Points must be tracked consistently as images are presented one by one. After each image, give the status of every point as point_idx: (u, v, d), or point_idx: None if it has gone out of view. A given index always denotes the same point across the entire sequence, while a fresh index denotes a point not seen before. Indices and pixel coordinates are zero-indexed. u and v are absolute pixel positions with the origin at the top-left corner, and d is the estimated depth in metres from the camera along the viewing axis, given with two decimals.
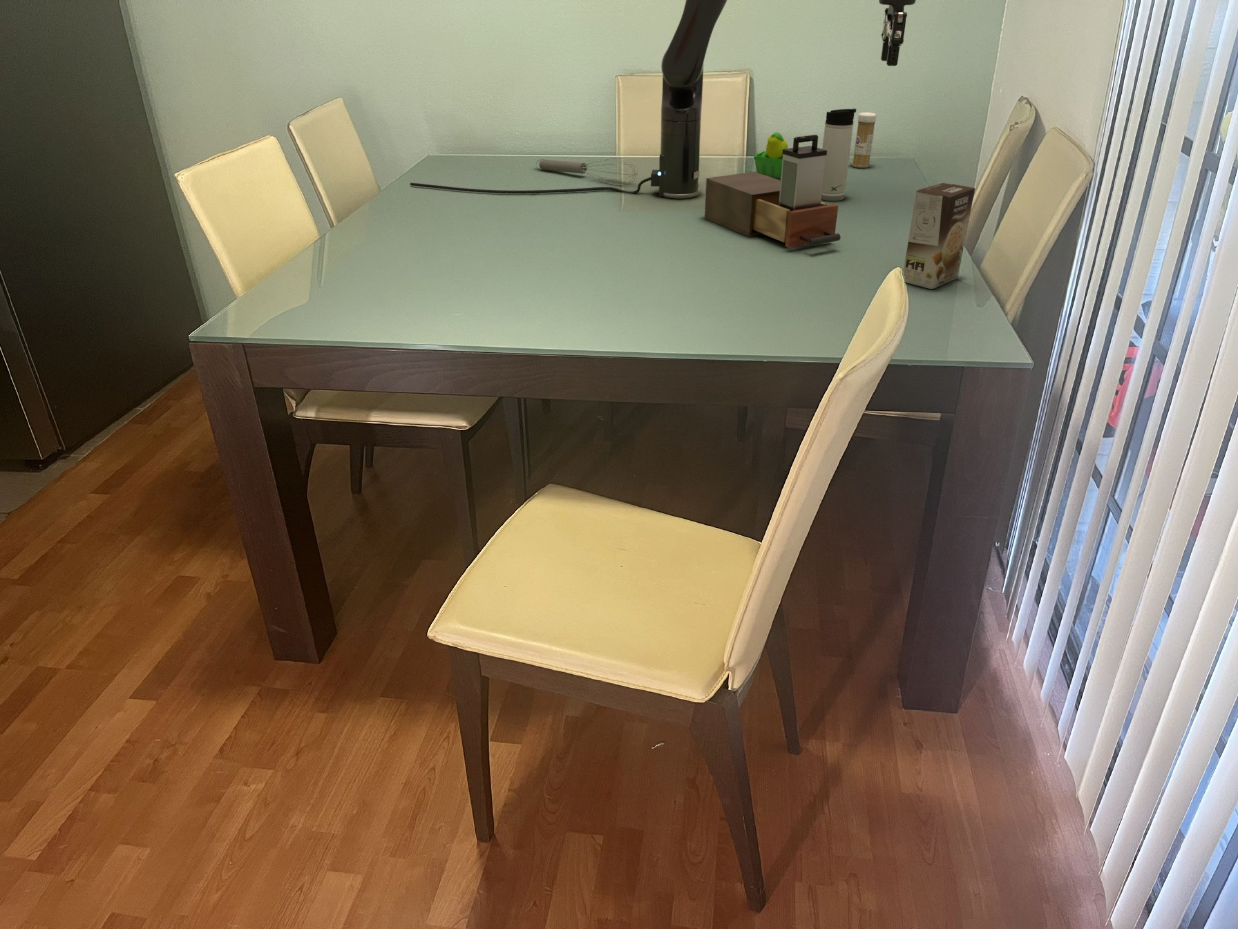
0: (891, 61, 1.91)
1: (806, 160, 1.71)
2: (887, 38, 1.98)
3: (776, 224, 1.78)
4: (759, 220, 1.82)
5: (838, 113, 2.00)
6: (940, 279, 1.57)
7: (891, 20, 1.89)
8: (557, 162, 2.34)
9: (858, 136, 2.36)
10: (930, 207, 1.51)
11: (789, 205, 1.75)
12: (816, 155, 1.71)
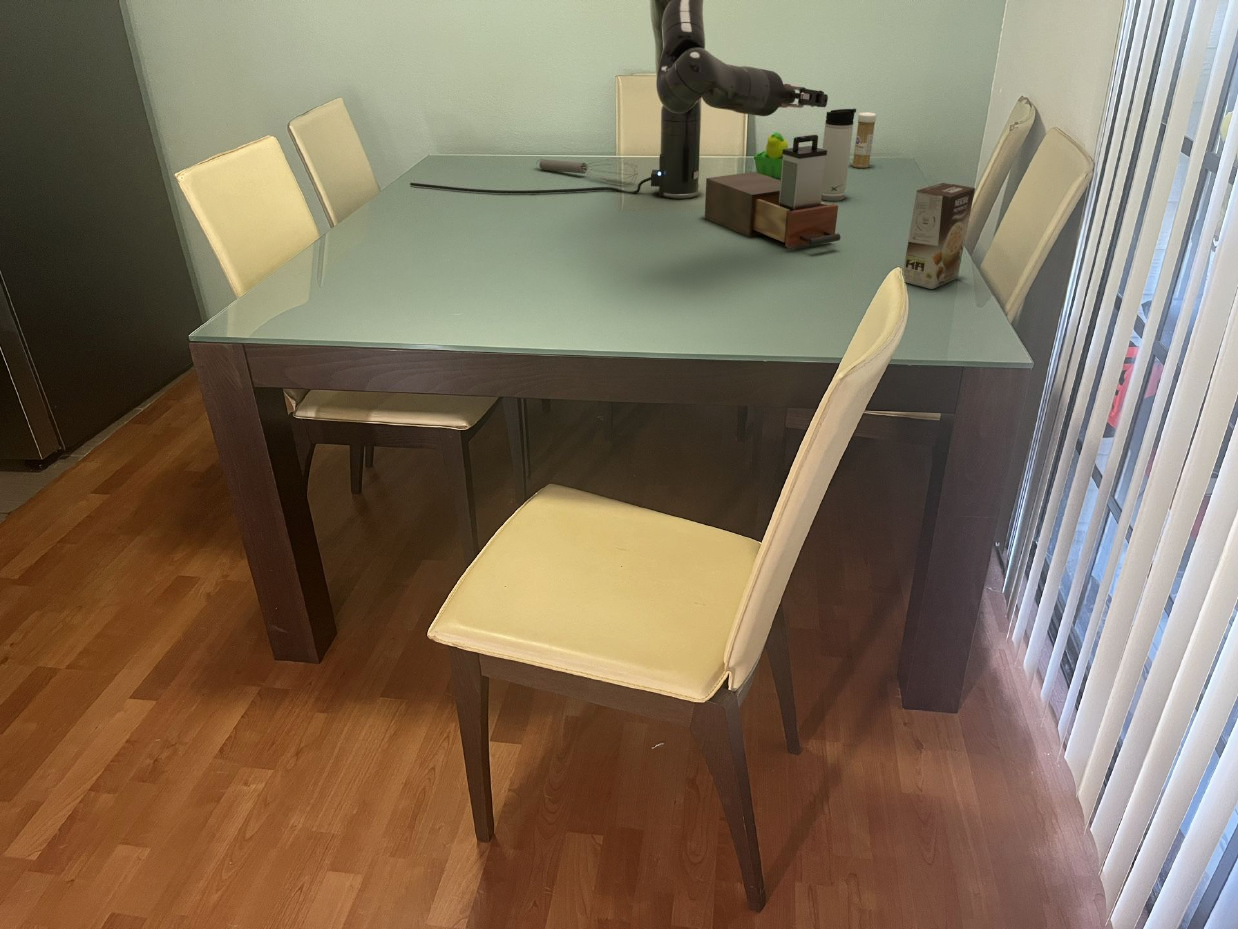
0: None
1: (806, 160, 1.71)
2: None
3: (776, 224, 1.78)
4: (759, 220, 1.82)
5: (838, 113, 2.00)
6: (940, 279, 1.57)
7: None
8: (557, 162, 2.34)
9: (858, 136, 2.36)
10: (930, 207, 1.51)
11: (789, 205, 1.75)
12: (816, 155, 1.71)
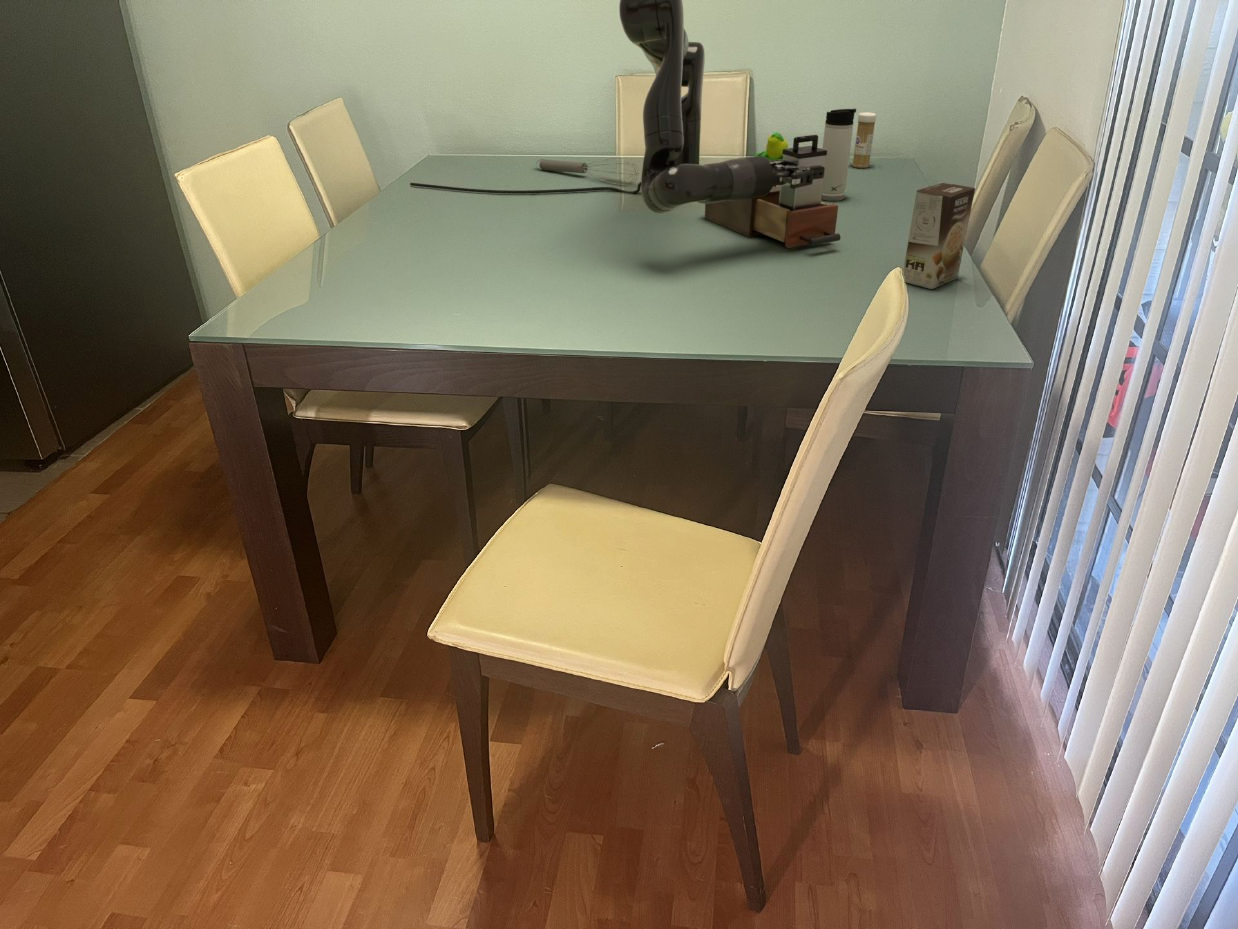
0: None
1: (806, 160, 1.71)
2: None
3: (776, 224, 1.78)
4: (759, 220, 1.82)
5: (838, 113, 2.00)
6: (940, 279, 1.57)
7: None
8: (557, 162, 2.34)
9: (858, 136, 2.36)
10: (930, 207, 1.51)
11: (789, 205, 1.75)
12: (816, 155, 1.71)
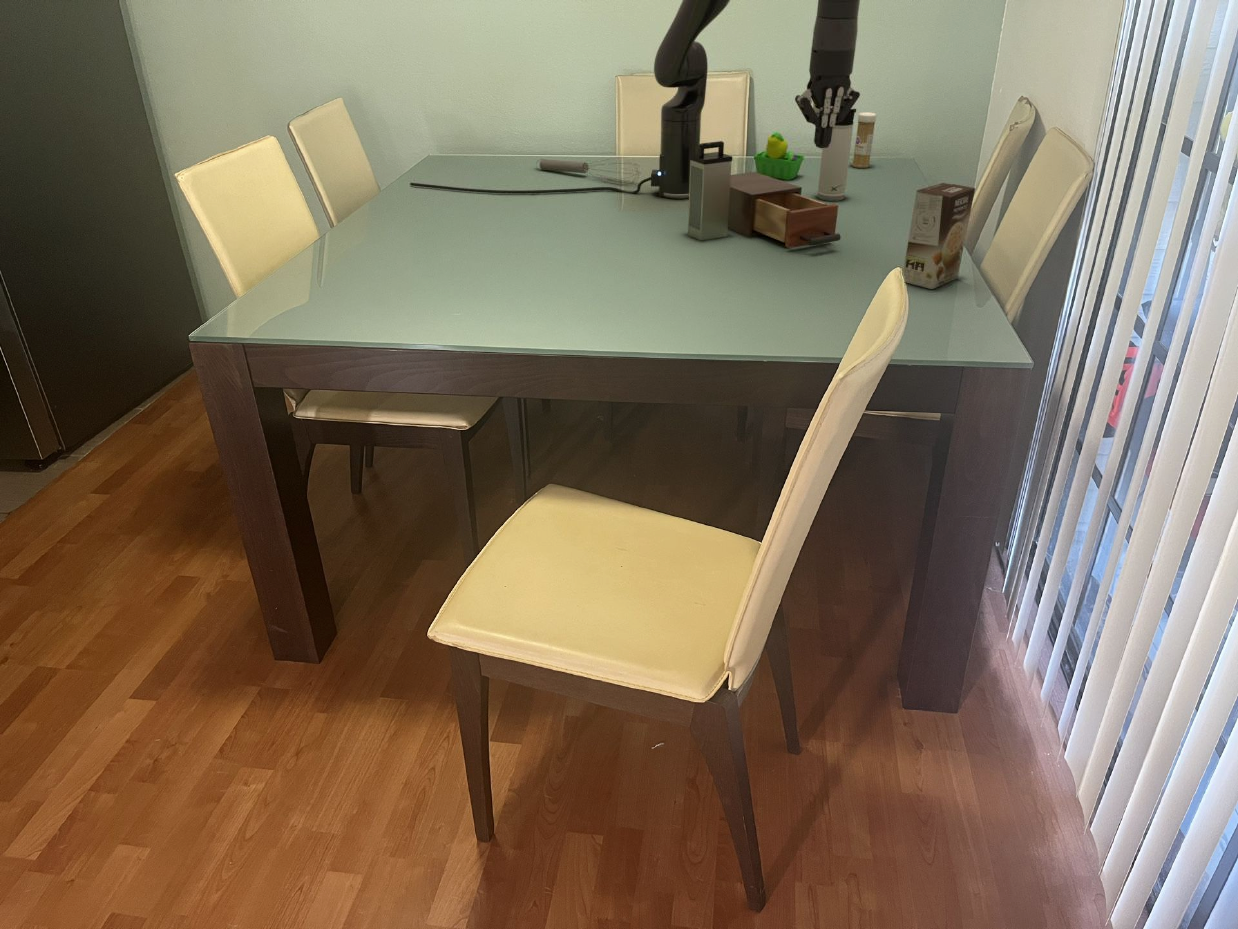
0: (815, 142, 1.65)
1: (712, 166, 1.76)
2: None
3: (776, 224, 1.78)
4: (759, 220, 1.82)
5: None
6: (940, 279, 1.57)
7: None
8: (558, 162, 2.34)
9: (858, 136, 2.36)
10: (930, 207, 1.51)
11: (697, 209, 1.81)
12: (721, 161, 1.76)
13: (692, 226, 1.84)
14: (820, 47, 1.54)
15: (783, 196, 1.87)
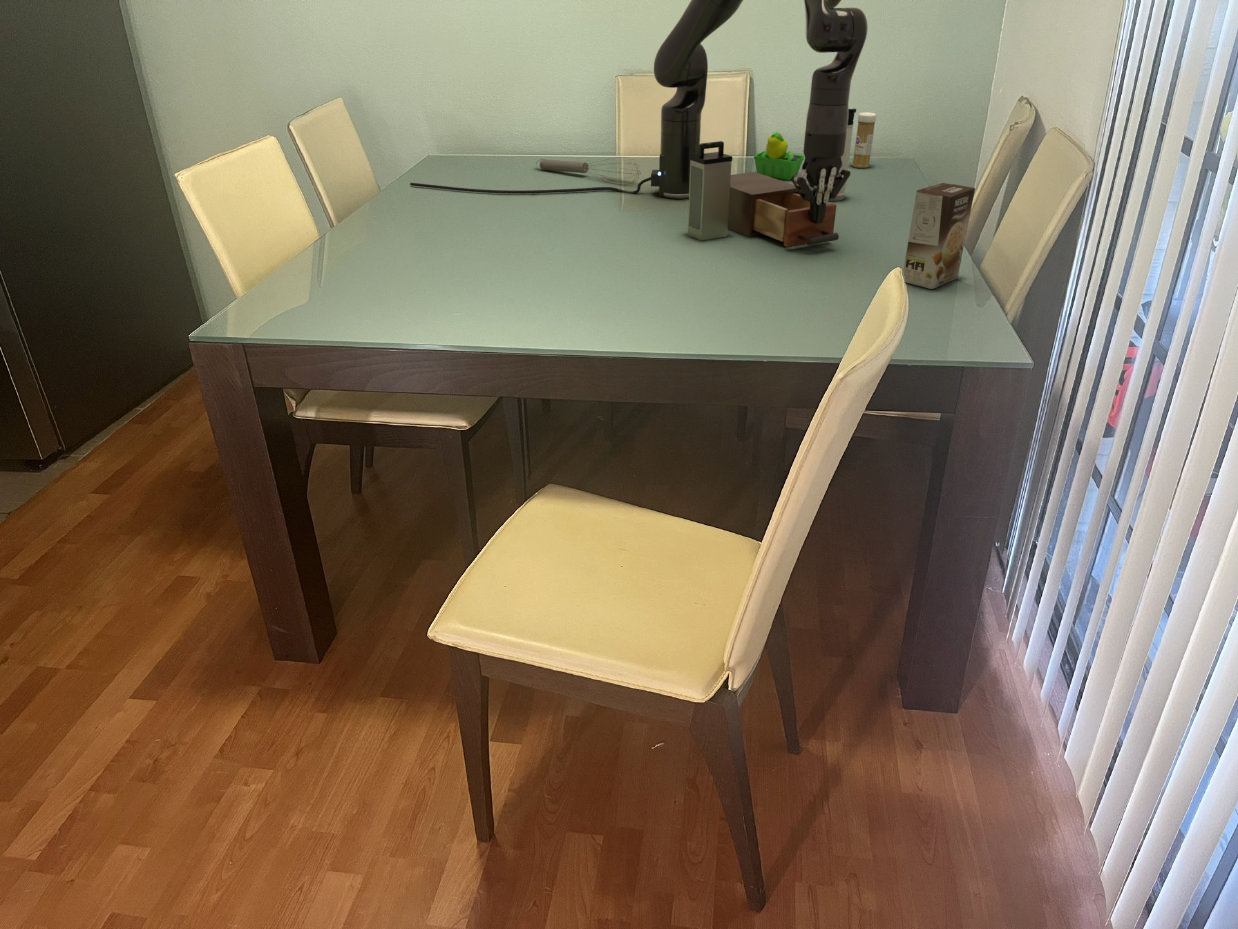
0: (810, 218, 1.74)
1: (712, 166, 1.76)
2: None
3: (774, 223, 1.78)
4: (758, 220, 1.82)
5: None
6: (940, 279, 1.57)
7: None
8: (558, 162, 2.34)
9: (858, 136, 2.36)
10: (930, 207, 1.51)
11: (697, 209, 1.81)
12: (721, 161, 1.76)
13: (692, 226, 1.84)
14: (815, 131, 1.64)
15: (781, 195, 1.87)
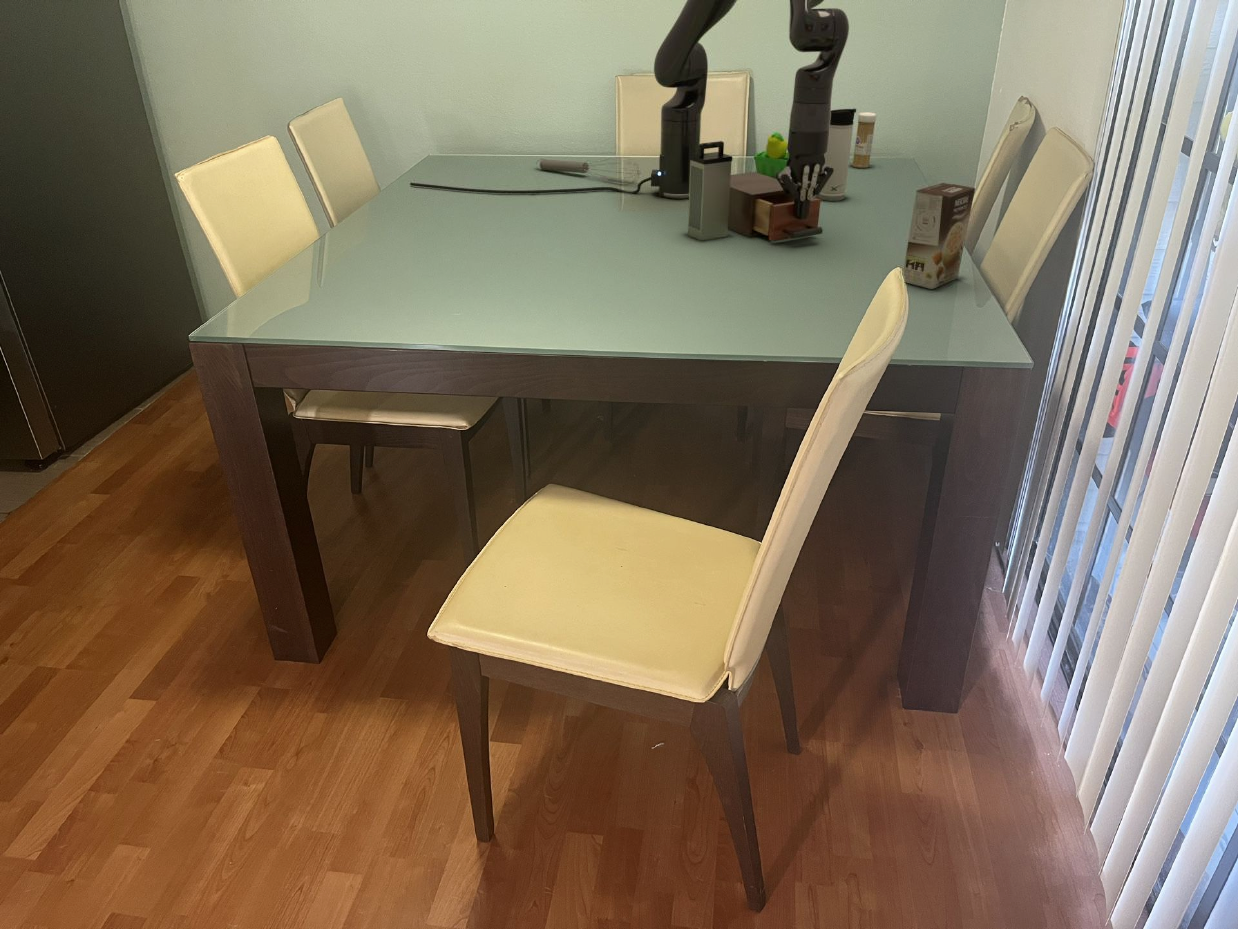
0: (794, 214, 1.78)
1: (712, 166, 1.76)
2: None
3: (760, 218, 1.82)
4: None
5: (838, 113, 2.00)
6: (940, 279, 1.57)
7: None
8: (558, 162, 2.34)
9: (858, 136, 2.36)
10: (930, 207, 1.51)
11: (697, 209, 1.81)
12: (721, 161, 1.76)
13: (692, 226, 1.84)
14: (798, 129, 1.67)
15: None
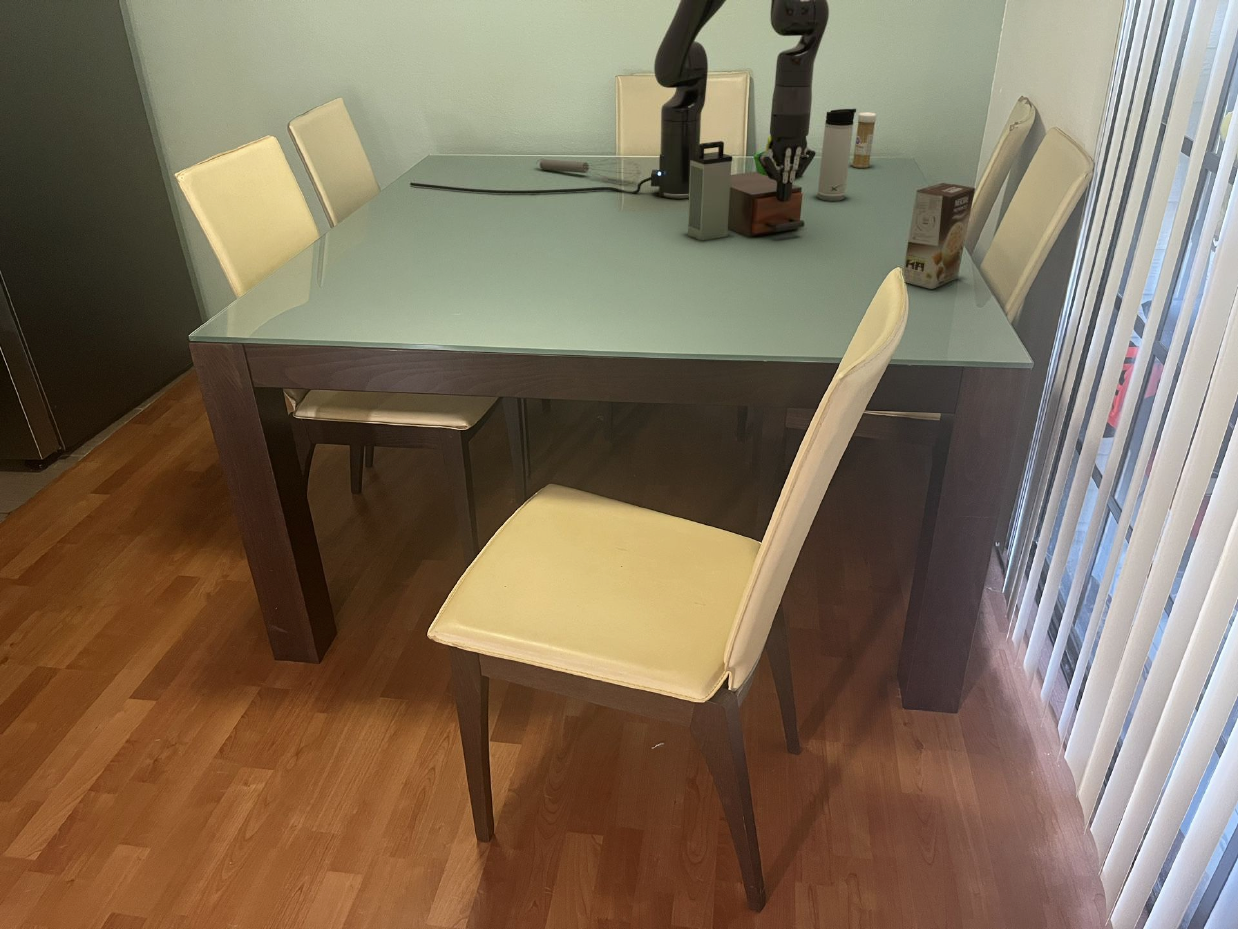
0: (777, 196, 1.81)
1: (712, 166, 1.76)
2: None
3: None
4: None
5: (838, 113, 2.00)
6: (940, 279, 1.57)
7: None
8: (558, 162, 2.34)
9: (858, 136, 2.36)
10: (930, 207, 1.51)
11: (697, 209, 1.81)
12: (721, 161, 1.76)
13: (692, 226, 1.84)
14: (779, 112, 1.70)
15: None
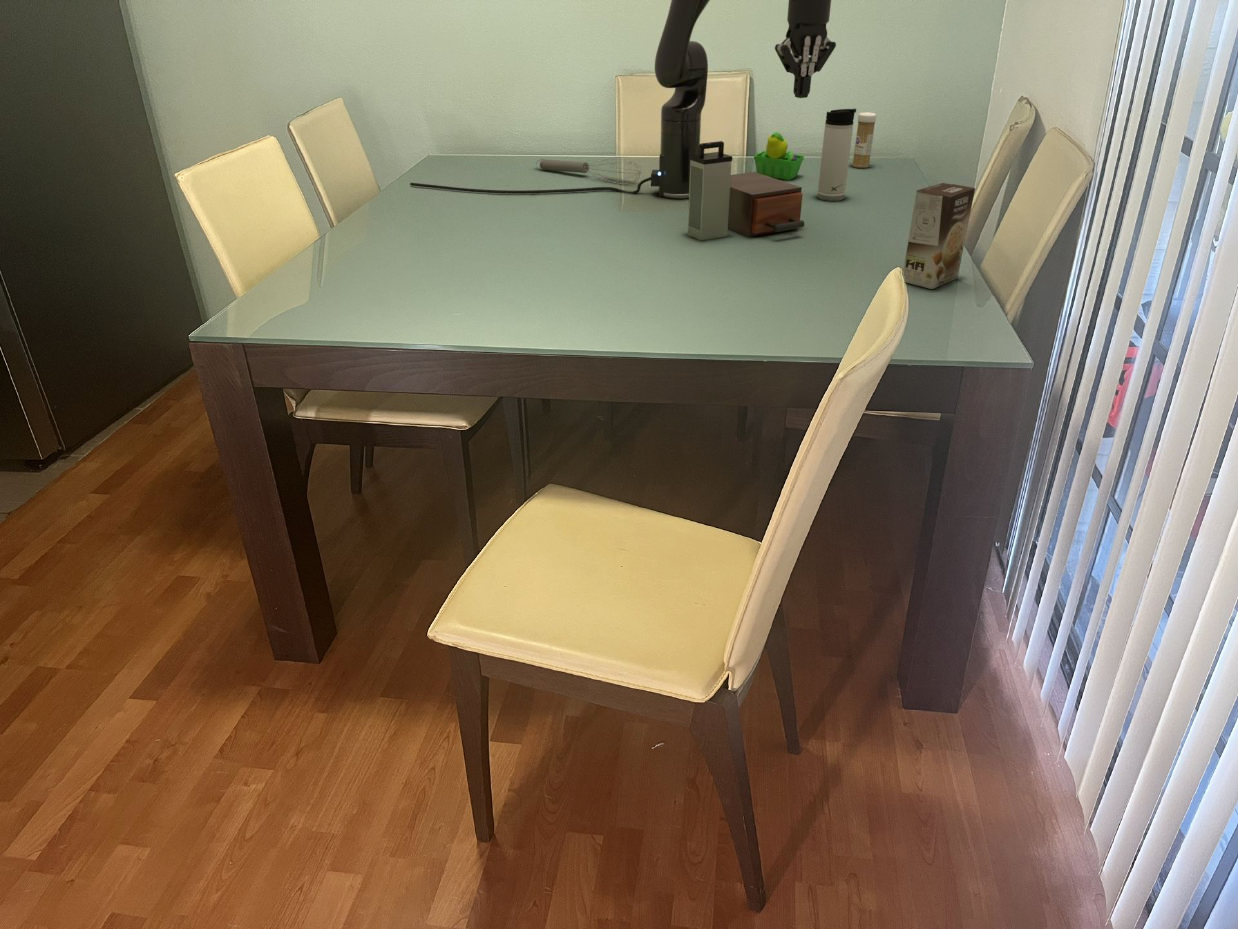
0: (794, 92, 1.69)
1: (712, 166, 1.76)
2: None
3: None
4: None
5: (838, 113, 2.00)
6: (940, 279, 1.57)
7: None
8: (558, 162, 2.34)
9: (858, 136, 2.36)
10: (930, 207, 1.51)
11: (697, 209, 1.81)
12: (721, 161, 1.76)
13: (692, 226, 1.84)
14: None
15: None
